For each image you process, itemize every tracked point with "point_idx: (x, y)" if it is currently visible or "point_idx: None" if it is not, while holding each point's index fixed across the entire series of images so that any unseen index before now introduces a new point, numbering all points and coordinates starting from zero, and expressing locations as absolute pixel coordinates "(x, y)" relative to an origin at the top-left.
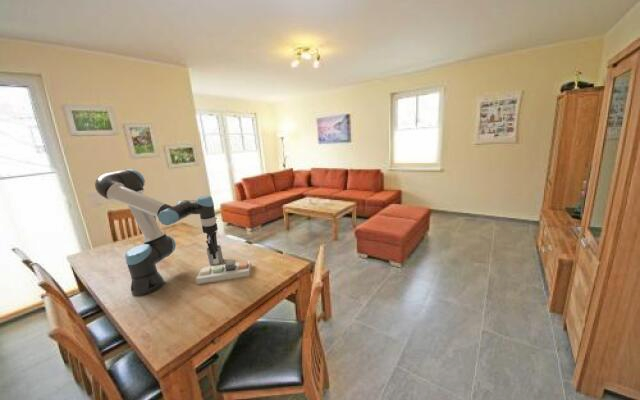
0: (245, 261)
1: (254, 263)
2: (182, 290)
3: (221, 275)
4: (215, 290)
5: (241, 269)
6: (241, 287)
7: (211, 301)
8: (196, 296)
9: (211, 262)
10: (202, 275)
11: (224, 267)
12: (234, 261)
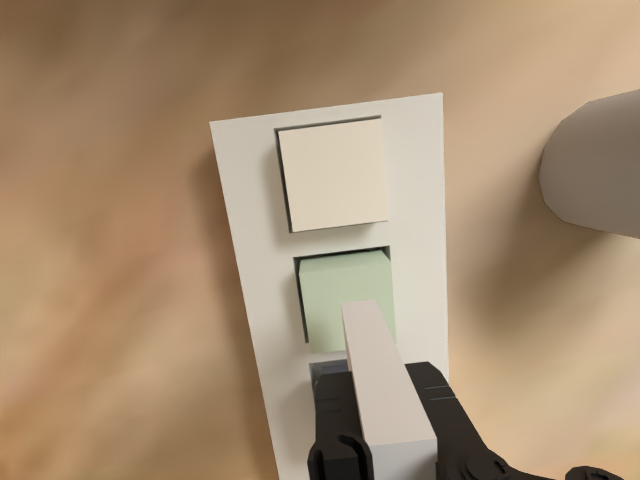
0: None
1: None
2: (144, 19)
3: (254, 346)
4: (138, 311)
5: None
6: (167, 459)
7: (14, 327)
8: (63, 195)
9: (573, 139)
10: (269, 166)
11: None
12: None
